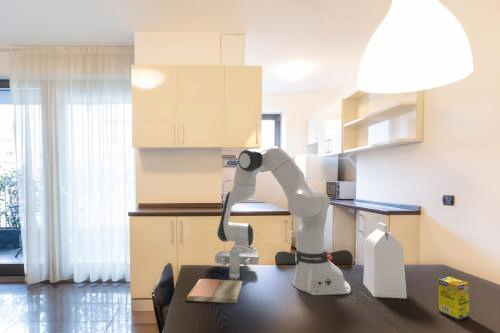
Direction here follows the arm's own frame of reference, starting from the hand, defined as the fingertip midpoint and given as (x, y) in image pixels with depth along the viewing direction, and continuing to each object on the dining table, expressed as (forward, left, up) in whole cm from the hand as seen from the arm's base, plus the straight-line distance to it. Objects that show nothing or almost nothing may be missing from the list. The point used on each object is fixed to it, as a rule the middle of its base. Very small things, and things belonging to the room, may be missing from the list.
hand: (234, 263), depth 113 cm
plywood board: (+5, +13, -7) cm, 15 cm away
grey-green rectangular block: (0, 0, -7) cm, 7 cm away
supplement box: (-75, +22, -7) cm, 78 cm away
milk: (-60, +5, -7) cm, 61 cm away
